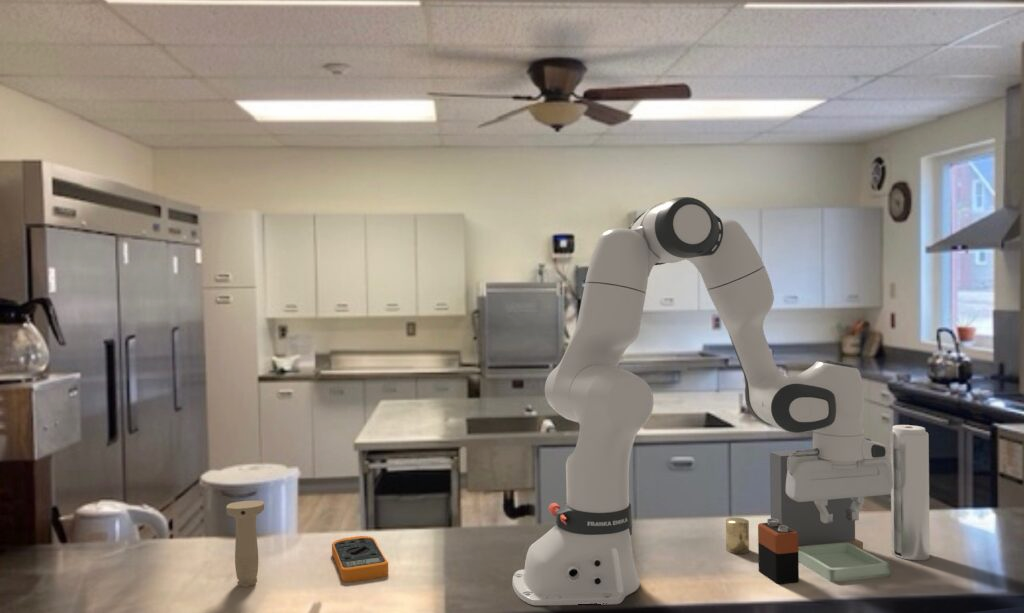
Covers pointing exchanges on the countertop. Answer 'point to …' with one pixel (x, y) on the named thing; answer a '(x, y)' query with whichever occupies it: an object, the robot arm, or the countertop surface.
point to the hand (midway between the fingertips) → (839, 521)
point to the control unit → (808, 511)
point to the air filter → (910, 492)
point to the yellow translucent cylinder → (737, 535)
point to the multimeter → (359, 559)
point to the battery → (778, 552)
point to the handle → (246, 540)
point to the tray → (842, 562)
